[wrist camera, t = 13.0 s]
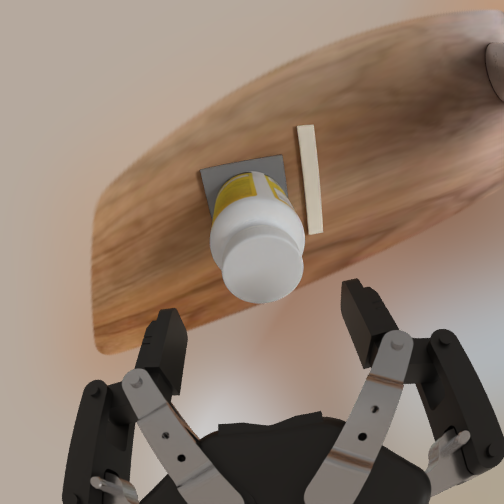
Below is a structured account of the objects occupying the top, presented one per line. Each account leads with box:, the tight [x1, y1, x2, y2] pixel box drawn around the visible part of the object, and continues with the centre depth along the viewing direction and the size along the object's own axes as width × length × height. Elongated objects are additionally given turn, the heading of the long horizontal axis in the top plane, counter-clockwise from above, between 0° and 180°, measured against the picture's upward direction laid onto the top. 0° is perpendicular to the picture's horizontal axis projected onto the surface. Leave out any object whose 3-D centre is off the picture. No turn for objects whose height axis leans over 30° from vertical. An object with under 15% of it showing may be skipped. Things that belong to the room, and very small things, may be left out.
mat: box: [200, 155, 288, 221], centre depth 26 cm, size 8×8×1 cm
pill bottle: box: [210, 171, 305, 303], centre depth 20 cm, size 6×6×12 cm
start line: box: [297, 125, 323, 235], centre depth 25 cm, size 2×11×1 cm, turn 10°
